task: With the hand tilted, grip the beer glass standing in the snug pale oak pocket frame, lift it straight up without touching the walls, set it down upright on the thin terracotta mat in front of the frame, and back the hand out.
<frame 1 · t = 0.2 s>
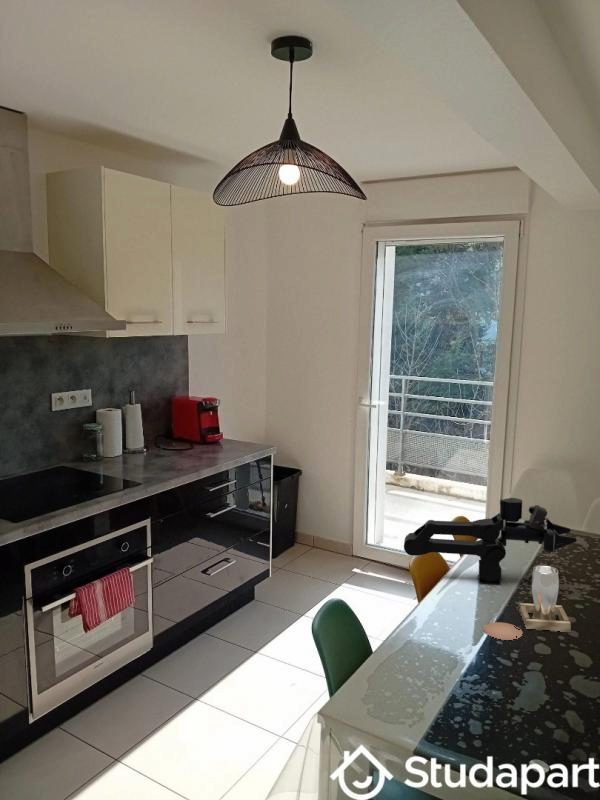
hand: (573, 535, 199), 17 cm above the table, tool horizontal, fingers open, 9 cm apart
mat: (503, 631, 171), on the table
pocket frame: (544, 621, 177), on the table
beer glass: (544, 622, 177), resting in pocket frame
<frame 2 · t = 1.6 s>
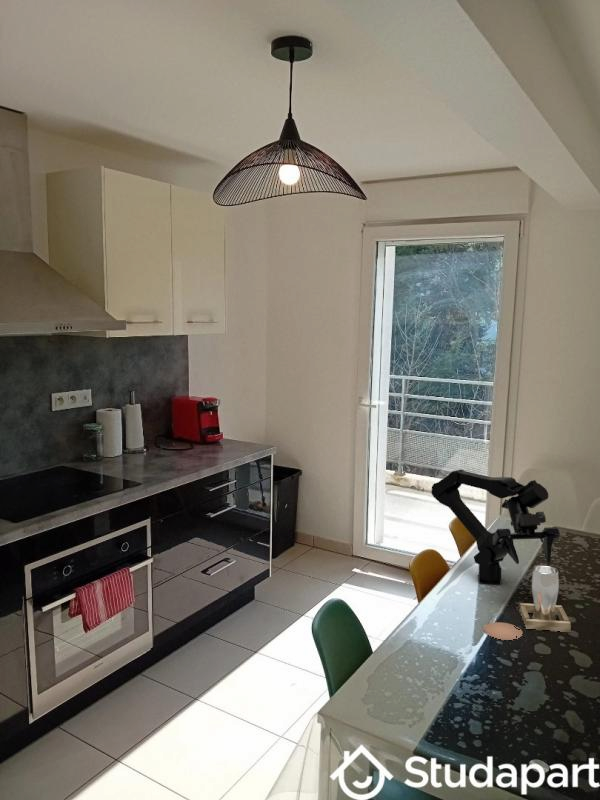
hand: (533, 562, 184), 14 cm above the table, tool tilted 45°, fingers open, 9 cm apart
nothing on the table moved.
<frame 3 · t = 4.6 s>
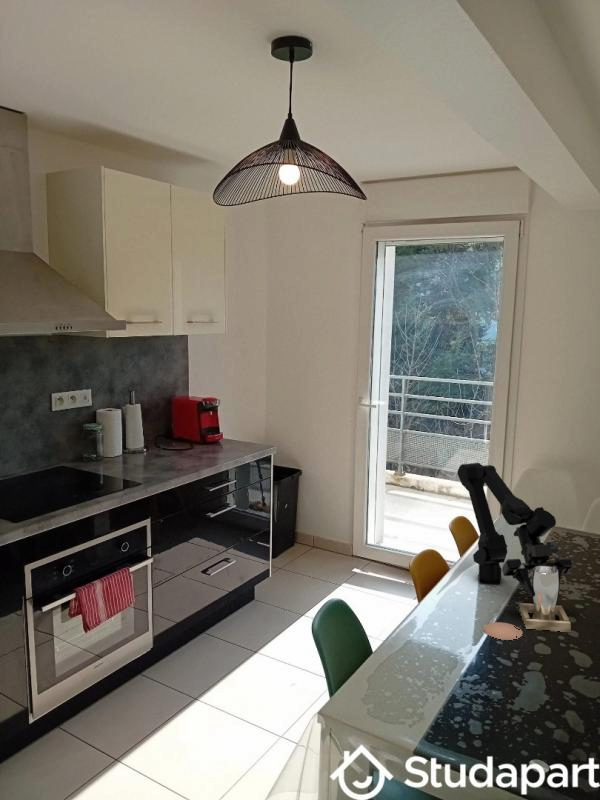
hand: (545, 595, 176), 8 cm above the table, tool tilted 45°, fingers closed on beer glass, 7 cm apart
beer glass: (544, 622, 177), resting in pocket frame, touching gripper
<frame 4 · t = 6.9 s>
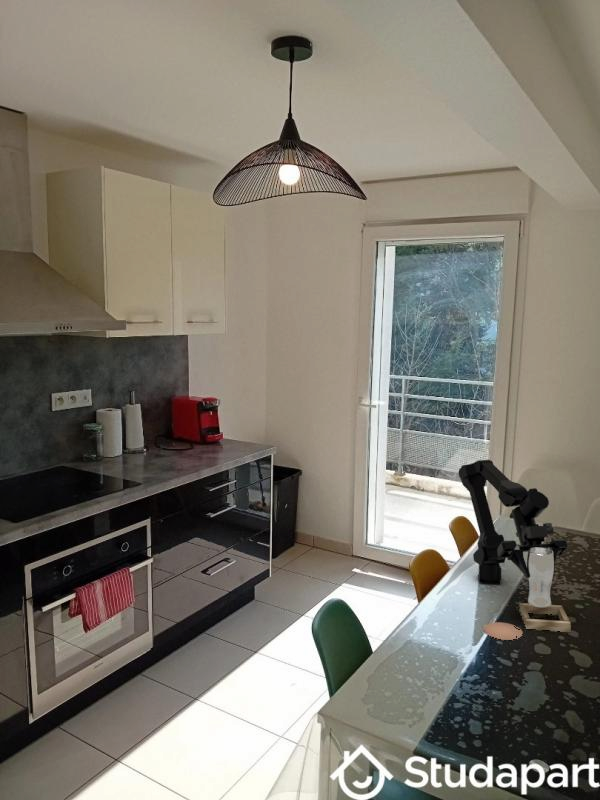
hand: (540, 577, 174), 13 cm above the table, tool tilted 45°, fingers closed on beer glass, 7 cm apart
beer glass: (539, 603, 176), point 5 cm above the table, touching gripper
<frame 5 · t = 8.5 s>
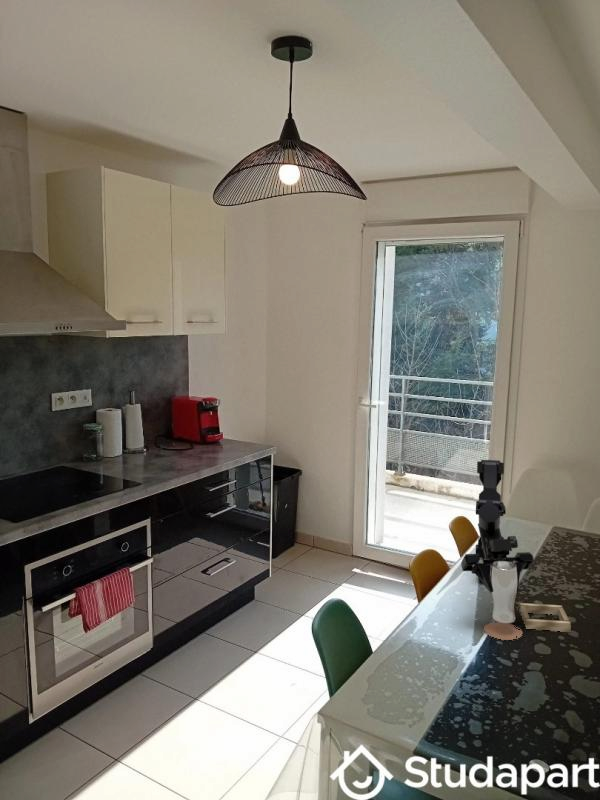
hand: (504, 591, 170), 11 cm above the table, tool tilted 45°, fingers closed on beer glass, 7 cm apart
beer glass: (503, 619, 171), point 3 cm above the table, touching gripper
when the fingers open (9 cm above the table, at t = 9.6 s): beer glass stays where it is, resting on mat.
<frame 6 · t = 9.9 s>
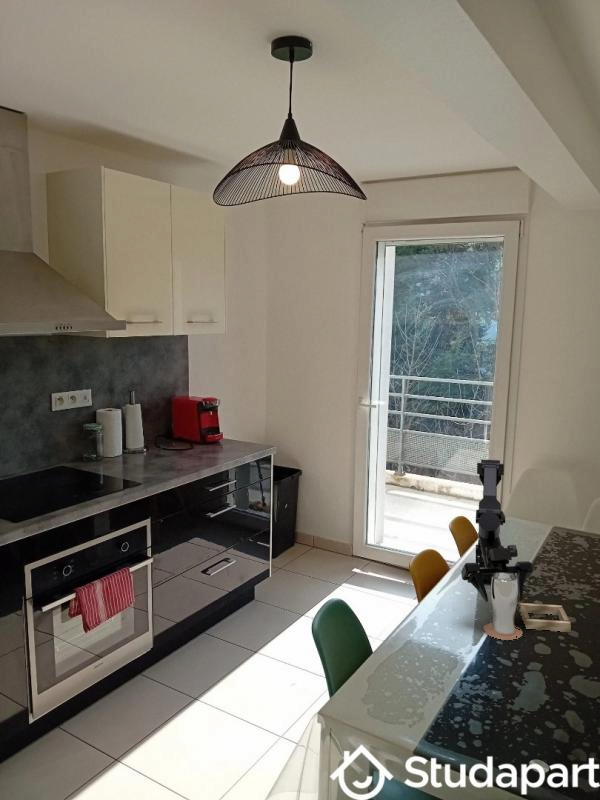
hand: (504, 600, 170), 9 cm above the table, tool tilted 45°, fingers open, 9 cm apart
beer glass: (503, 630, 171), resting on mat
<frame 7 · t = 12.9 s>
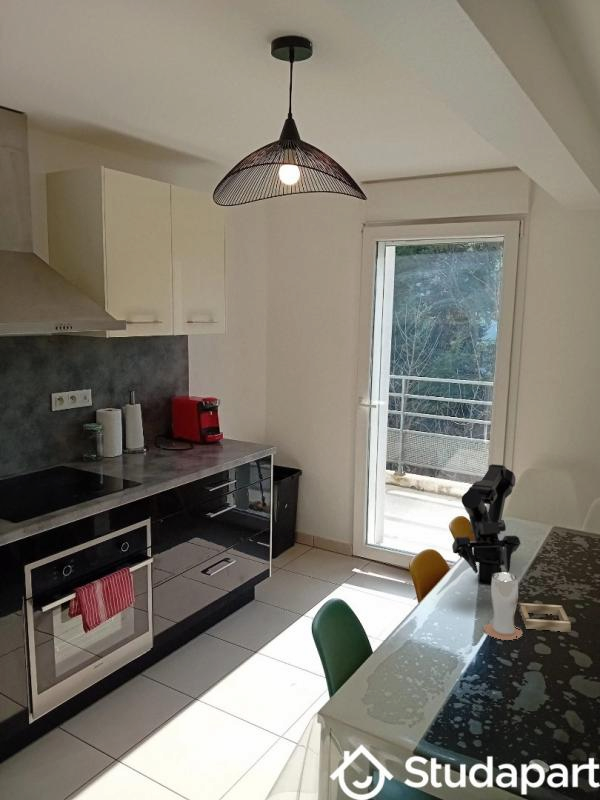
hand: (492, 572, 181), 13 cm above the table, tool tilted 45°, fingers open, 9 cm apart
nothing on the table moved.
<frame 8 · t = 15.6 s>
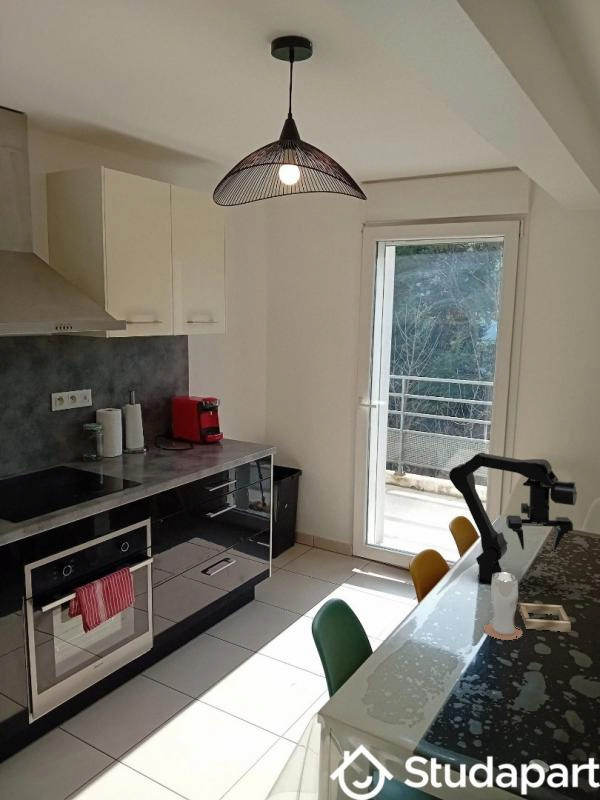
hand: (538, 550, 196), 13 cm above the table, tool pointing down, fingers open, 9 cm apart
nothing on the table moved.
at the end: beer glass 0.4 cm off-centre on the mat, point 0.1 cm above the mat's base; beer glass tilted 0°; the gripper is holding nothing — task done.
